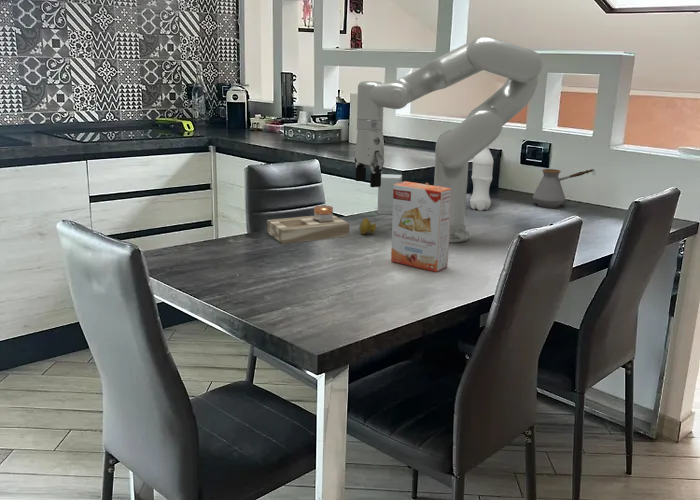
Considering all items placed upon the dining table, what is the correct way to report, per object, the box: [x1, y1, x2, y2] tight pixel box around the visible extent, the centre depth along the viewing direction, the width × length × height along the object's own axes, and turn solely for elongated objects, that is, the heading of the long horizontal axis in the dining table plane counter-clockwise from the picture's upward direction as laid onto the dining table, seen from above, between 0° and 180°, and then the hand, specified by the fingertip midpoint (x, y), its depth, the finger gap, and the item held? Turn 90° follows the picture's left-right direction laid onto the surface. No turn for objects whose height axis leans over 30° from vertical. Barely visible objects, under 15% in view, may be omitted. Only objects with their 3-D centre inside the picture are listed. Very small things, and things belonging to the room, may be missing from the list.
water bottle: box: [469, 145, 495, 211], centre depth 237 cm, size 7×7×25 cm
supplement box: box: [376, 173, 403, 216], centre depth 232 cm, size 7×7×13 cm
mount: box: [266, 214, 350, 245], centre depth 203 cm, size 13×21×4 cm, turn 116°
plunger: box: [313, 204, 334, 223], centre depth 204 cm, size 6×6×4 cm
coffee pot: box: [532, 168, 596, 209], centre depth 242 cm, size 21×12×15 cm, turn 51°
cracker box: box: [390, 181, 452, 273], centre depth 173 cm, size 14×6×21 cm, turn 53°
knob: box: [359, 217, 377, 236], centre depth 205 cm, size 5×5×5 cm
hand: (367, 183), depth 201 cm, fingers open, 9 cm apart
